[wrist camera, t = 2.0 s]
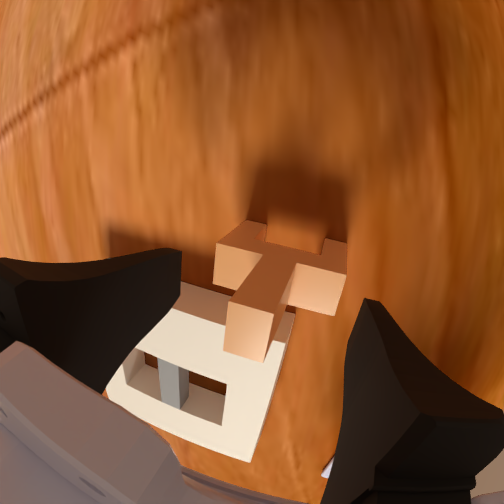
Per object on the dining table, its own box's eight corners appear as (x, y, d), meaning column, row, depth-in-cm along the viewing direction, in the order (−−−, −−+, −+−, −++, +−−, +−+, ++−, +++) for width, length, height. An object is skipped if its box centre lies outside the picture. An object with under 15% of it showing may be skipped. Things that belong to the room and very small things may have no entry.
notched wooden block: (346, 243, 15) (344, 331, 8) (338, 277, 16) (325, 379, 9) (246, 219, 17) (167, 282, 9) (241, 253, 17) (168, 331, 10)
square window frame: (295, 314, 18) (285, 343, 15) (259, 437, 23) (249, 462, 20) (109, 257, 21) (82, 273, 18) (126, 383, 26) (110, 402, 23)
